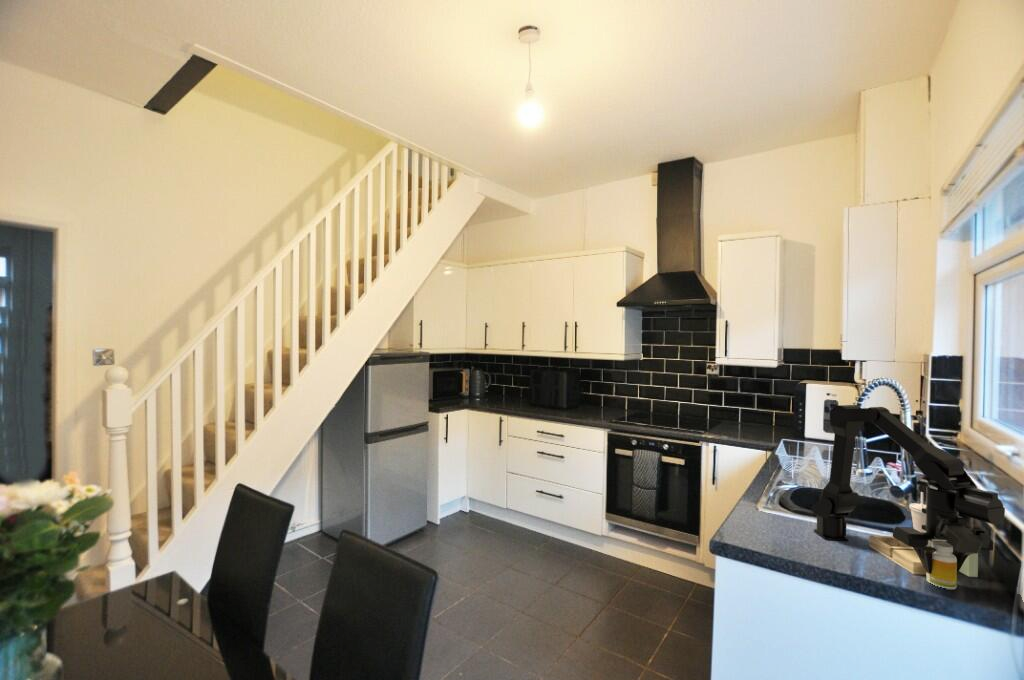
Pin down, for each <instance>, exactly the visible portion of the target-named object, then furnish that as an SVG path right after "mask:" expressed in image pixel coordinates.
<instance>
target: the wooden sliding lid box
mask: <svg viewBox="0 0 1024 680" xmlns="http://www.w3.org/2000/svg"><path fill="white" fill-rule="evenodd" d="M868 541H869V542H868V543H869V544H868V546H869V547H870V548H872V549H874V551H876V552H878V553H880V554H881V555H882V556H885V557H886V558H887V559H889V560H890V561H892V562H894V563H895V564H897V565H898V566H900V567H901V568H903V569H905V570H906V571H908V572H909V573H911V574H912V575H922V576H923V575H924V576H926V571H925V569H924V567H923V565H922V563H921V561H920V559H919V557H918V555H917V553H916V551H915V550H914V548H913V547H911V546H908V545H906V544H904V543H903V542H901V541H899V540H897V539H896V538H894V537H893V535H892V536H889V535H868Z"/></svg>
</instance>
